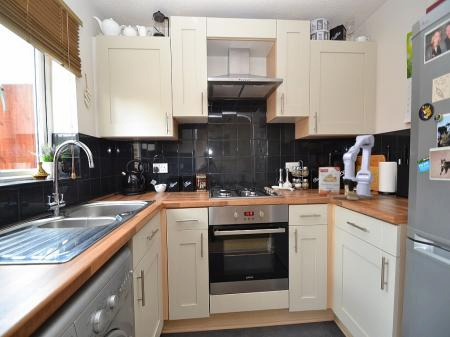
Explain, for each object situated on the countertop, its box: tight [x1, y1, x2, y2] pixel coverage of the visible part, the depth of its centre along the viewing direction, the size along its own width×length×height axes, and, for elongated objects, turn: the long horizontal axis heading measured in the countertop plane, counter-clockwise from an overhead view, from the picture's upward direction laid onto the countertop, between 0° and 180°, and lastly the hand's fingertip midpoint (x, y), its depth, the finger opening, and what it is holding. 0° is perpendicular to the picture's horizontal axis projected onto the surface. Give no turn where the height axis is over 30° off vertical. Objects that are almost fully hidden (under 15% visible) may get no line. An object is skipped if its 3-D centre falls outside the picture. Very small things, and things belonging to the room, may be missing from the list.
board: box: [326, 194, 373, 201], centre depth 150 cm, size 12×24×2 cm, turn 84°
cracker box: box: [318, 166, 341, 195], centre depth 169 cm, size 14×6×21 cm, turn 76°
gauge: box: [344, 185, 358, 201], centre depth 146 cm, size 9×6×8 cm, turn 174°
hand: (349, 190), depth 147 cm, fingers closed on gauge, 4 cm apart
